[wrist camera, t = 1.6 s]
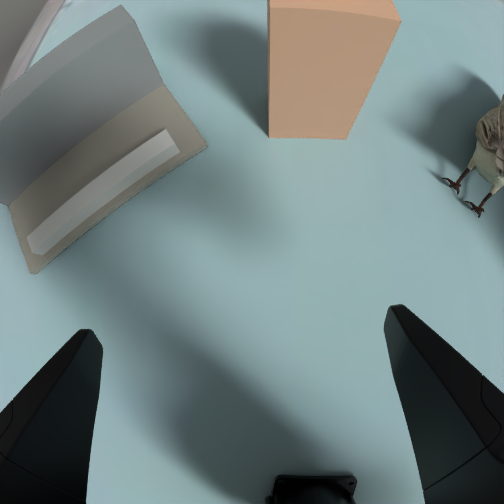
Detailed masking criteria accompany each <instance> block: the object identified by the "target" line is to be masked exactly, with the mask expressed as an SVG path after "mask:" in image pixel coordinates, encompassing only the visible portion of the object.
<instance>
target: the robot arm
mask: <svg viewBox="0 0 504 504" xmlns="http://www.w3.org/2000/svg"><path fill="white" fill-rule="evenodd" d="M384 334H385V338H386V343H387V348H388V353H389V358H390V363H391V368H392V373H393V377H394V381H395V384H396V388H397V391H398V394H399V398H400V401H401V404H402V408H403V411H404V415H405V419H406V422H407V426H408V430H409V434H410V437H411V441H412V445H413V449H414V453H415V457H416V462H417V466H418V470H419V475H420V479H421V484H422V489H423V494H424V499H425V504H504V393H503V392H501V391H500V390H499V389H498V388H497V387H496V386H495V385H494V384H492V383H491V382H490V381H489V380H488V379H487V378H486V377H485V376H484V375H482V373H480V372H479V371H478V370H477V369H476V368H475V367H474V366H473V365H472V364H471V363H470V362H468V361H467V360H466V359H465V358H464V357H463V356H462V355H461V354H460V353H459V352H457V351H456V350H455V349H454V348H453V347H452V346H451V345H450V344H448V343H447V342H446V341H445V340H444V339H443V338H442V337H440V336H439V335H438V334H437V333H436V332H435V331H434V330H432V329H431V328H430V327H429V326H428V325H427V324H425V323H424V322H423V321H422V320H421V319H420V318H418V317H417V316H416V315H415V314H414V313H413V312H411V311H410V310H409V309H408V308H407V307H406V306H404V305H402V304H398V305H391V306H390V307H389V308H388V311H387V315H386V319H385V322H384ZM102 358H103V347H102V345H101V343H100V341H99V340H98V338H97V337H96V335H95V334H94V332H93V331H92V330H91V329H80V330H79V331H77V332H76V333H75V334H74V335H73V336H72V337H71V338H70V339H69V340H68V341H67V342H66V343H65V344H64V345H63V346H62V348H61V349H60V350H59V351H58V352H57V353H56V354H55V355H54V356H53V357H52V358H51V359H50V360H49V361H48V362H47V363H46V364H45V365H44V366H43V367H42V368H41V369H40V370H39V371H38V372H37V373H36V375H35V376H34V377H33V378H32V379H31V380H30V381H29V382H28V383H27V384H26V385H25V386H24V387H23V388H22V390H21V391H20V392H19V393H18V394H17V395H16V396H15V397H14V398H13V400H12V401H11V402H10V403H9V404H8V405H7V406H6V407H5V408H4V409H3V410H2V411H1V413H0V504H86V496H87V483H88V472H89V462H90V453H91V445H92V438H93V430H94V423H95V417H96V411H97V405H98V399H99V391H100V380H101V368H102ZM279 480H284V481H283V482H279ZM349 481H353V482H351V483H348V482H349ZM356 485H357V480H356V478H355V477H354V476H292V475H279V476H277V477H275V480H274V485H273V490H272V495H271V496H268V497H266V498H265V503H264V504H356V503H355V501H354V498H353V494H354V491H355V488H356Z"/></svg>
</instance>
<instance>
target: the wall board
mask: <svg viewBox="0 0 504 504" xmlns="http://www.w3.org/2000/svg"><path fill="white" fill-rule="evenodd" d="M207 147H208V146H207V143H206V141H205V140H204V138H203V137H202V136H201V134H200V133H199V131H198V130H197V129H196V127H195V126H194V124H193V123H192V122H191V120H190V119H189V117H188V116H187V115H186V113H185V112H184V111H183V109H182V108H181V106H180V105H179V104H178V102H177V101H176V99H175V98H174V97H173V95H172V94H171V93H170V91H169V90H168V88H167V87H166V86H165V84H164V82H163V80H162V78H161V76H160V74H159V72H158V69H157V67H156V65H155V63H154V61H153V59H152V57H151V55H150V52H149V50H148V48H147V46H146V44H145V42H144V40H143V37H142V35H141V33H140V31H139V29H138V27H137V24H136V22H135V20H134V19H133V18H132V17H131V16H130V14H129V13H128V12H127V11H126V10H125V9H124V7H123V6H122V5H120V6H118V7H116V8H114V9H113V10H111V11H109V12H108V13H106V14H104V15H103V16H101V17H99V18H98V19H96V20H95V21H93V22H91V23H90V24H88V25H87V26H85V27H84V28H82V29H81V30H79V31H78V32H76V33H75V34H74V35H72V36H71V37H69V38H68V39H66V40H65V41H64V42H62V43H61V44H60V45H58V46H57V47H56V48H54V49H53V50H52V51H50V52H49V53H48V54H46V55H45V56H44V57H43V58H41V59H40V60H39V61H38V62H36V63H35V64H34V65H33V66H32V67H31V68H29V69H28V70H27V71H26V72H25V73H24V74H22V75H21V76H20V77H19V78H18V79H17V80H16V81H15V82H13V83H12V84H11V85H10V86H9V87H8V88H7V89H6V90H5V91H4V92H3V93H2V94H1V95H0V203H1V204H4V205H7V206H8V207H9V210H10V214H11V217H12V221H13V224H14V227H15V231H16V234H17V237H18V240H19V243H20V246H21V249H22V252H23V255H24V258H25V260H26V263H27V266H28V268H29V271H30V273H31V274H37V273H38V272H39V271H40V270H41V269H42V268H44V267H45V266H46V265H47V264H48V263H49V262H50V261H52V260H53V259H54V258H55V257H56V256H58V255H59V254H60V253H61V252H62V251H63V250H65V249H66V248H67V247H68V246H70V245H71V244H72V243H73V242H74V241H76V240H77V239H78V238H79V237H81V236H82V235H83V234H84V233H86V232H87V231H88V230H89V229H91V228H92V227H93V226H95V225H96V224H97V223H98V222H100V221H101V220H102V219H104V218H105V217H106V216H108V215H109V214H110V213H112V212H113V211H114V210H116V209H117V208H118V207H120V206H121V205H122V204H124V203H125V202H127V201H128V200H129V199H131V198H132V197H133V196H135V195H136V194H138V193H139V192H140V191H142V190H143V189H145V188H146V187H148V186H149V185H150V184H152V183H153V182H155V181H156V180H158V179H159V178H161V177H162V176H164V175H165V174H167V173H168V172H170V171H171V170H173V169H174V168H176V167H177V166H179V165H180V164H182V163H183V162H185V161H186V160H188V159H190V158H191V157H193V156H194V155H196V154H197V153H199V152H201V151H202V150H204V149H205V148H207Z"/></svg>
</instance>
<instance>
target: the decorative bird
mask: <svg viewBox="0 0 504 504" xmlns="http://www.w3.org/2000/svg"><path fill="white" fill-rule="evenodd" d="M475 136H476V138H477V143H476V150H475V152H474V154H473V157H472V159H471V160H470V162H469V164H468V167H467V169H466V170H465V171H464V172H463V174H462V175H461V176H460V178H459V179H458V180H457V182H456V183H455V182H453V181H452V180H450V179H449V178H442V179H446V180H448V181H449V182H450V186H449V187H453V188H454V189H455V190H457V195H458V194H459V191H460V190H459V187H461V184H460V182H461V180H462V179H463V178H464V177H465V176H466V175H467V174H468V173H469V172H470V170H472V169H473V168H474V167H476V169H477V171H478V173H479V174H480V175H481V176H482V177H483V178H484V179H485V180H487V181H488V182H490V183H492V188H491V190H490V193H489V194H488V195H487V196H486V197H485V198H484V199H483V201H482V202H481V204H480V205H479V206H478V207H477V206H475V205H474V204H473V203H472V202H469V201H464V202H467V203H470V204H471V206H472V207H473V208H471V210H474V211H475V212H476V213H477V214H479V215H478V218H479V217H480V215H481V212H482V211H483V212H484V209H483V208H481V207H482V206H483V205H484V203H485V202H486V201H487V200H488V199H489V198H490V197H491V196H492V195H493V194H495V193H496V192H497V191H498V190H499V189H500V188H501V187H502V186H504V95H503V97H502V101H501V103H500V104H499V106H497V107H494V108H493V109H491V110H490V111H489V112H487V113H486V114H485V115H483V116H482V117H481V118H480V120H479V121H478V123H477V126H476V130H475Z"/></svg>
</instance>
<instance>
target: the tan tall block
mask: <svg viewBox="0 0 504 504" xmlns="http://www.w3.org/2000/svg"><path fill="white" fill-rule="evenodd" d="M267 23H268V124H269V138H323V139H346V138H347V136H348V134H349V132H350V130H351V128H352V126H353V124H354V122H355V120H356V118H357V116H358V114H359V112H360V110H361V107H362V105H363V103H364V101H365V99H366V97H367V95H368V93H369V91H370V89H371V87H372V84H373V82H374V80H375V78H376V76H377V74H378V72H379V70H380V67H381V65H382V63H383V61H384V59H385V57H386V54H387V52H388V50H389V48H390V46H391V44H392V41H393V39H394V37H395V35H396V33H397V30H398V28H399V26H400V24H401V19H400V17H399V14H398V12H397V10H396V8H395V6H394V4H393V1H392V0H267Z"/></svg>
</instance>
